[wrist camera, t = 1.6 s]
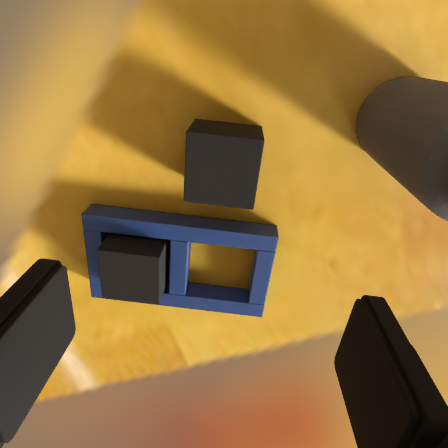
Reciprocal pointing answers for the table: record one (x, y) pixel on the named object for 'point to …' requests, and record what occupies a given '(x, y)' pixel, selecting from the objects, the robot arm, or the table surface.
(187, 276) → the frame
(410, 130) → the bottle
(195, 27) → the table surface
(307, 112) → the table surface
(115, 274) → the pad
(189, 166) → the pad
